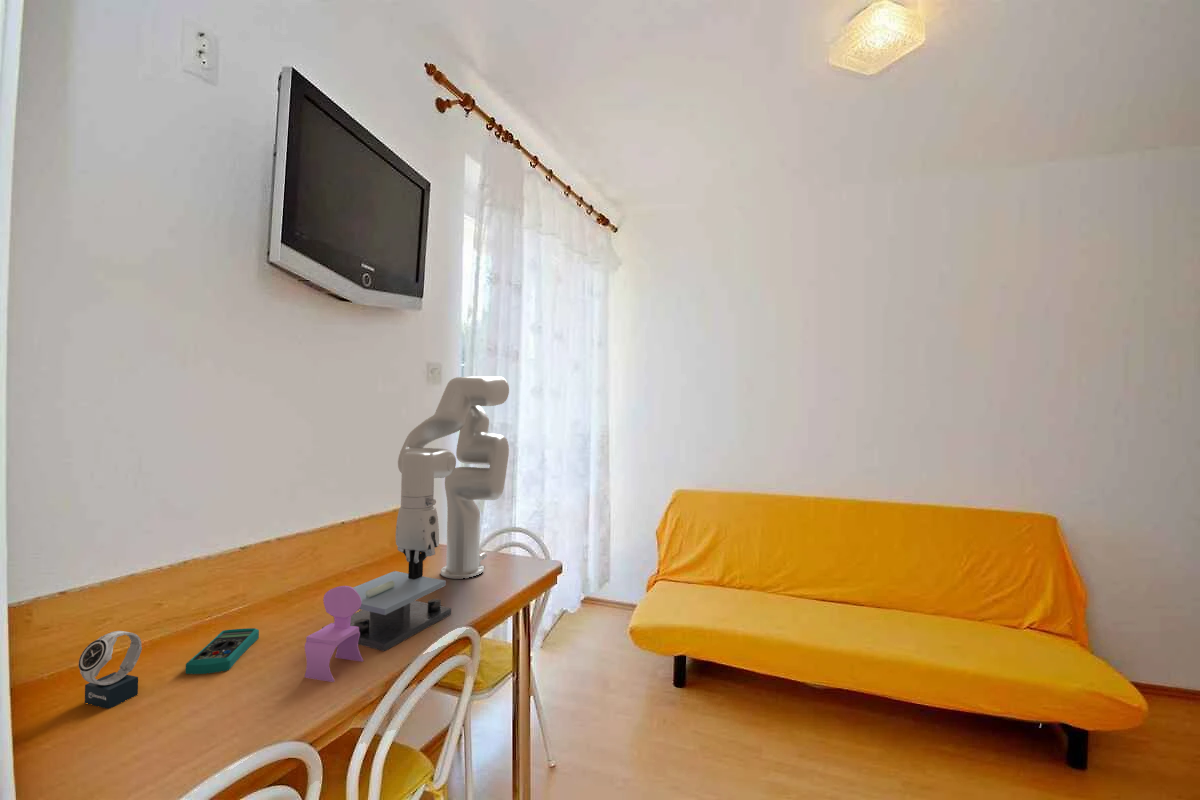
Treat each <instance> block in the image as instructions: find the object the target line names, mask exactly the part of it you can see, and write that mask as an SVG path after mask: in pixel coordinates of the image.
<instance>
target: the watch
mask: <svg viewBox="0 0 1200 800" xmlns="http://www.w3.org/2000/svg"><path fill="white" fill-rule="evenodd" d="M122 636H127V637H128V638H129V640H130V645H129V647H128V648H127V652H126V654H125V657H124V658H123V660H122V661H121V664H120V665H119V669H118V670H117V672H116V671H115V672H112V673H110V674H107V675H105V676H102V677H100V678H98V679H96V677H97V676H99V673H100V671H101V670H102V668H104V667H105V666H106V665H107V663H109V661H111V660H112V658H113V656H112V654H113V652H114V651H113V650H114V645H115V644H116V642H117V638H119V637H122ZM142 650H143V648H142V640H141V638H140V636H139V635H137V633H135V632H129V631H123V630H116V631H111V632H108V633H106V634H104V635H103V636H102V635H101V636H99V638H97V639H96V640H94V641H92V642H90V643H89V644H88V645H87V646H85V648H84V650H83V651H82V652H81V655H80V657H79V658H78V668H79V673H80V675H81V677H82V678H83V680H84V681H86V682H88V683H86V684H84V704H85V703H88V704H87V705H89V704H92V705H91V706H93V705H94V707H98V706H99V708H101V709H102V708H103V709H108V710H109V709H112V708H114V707H116V706H118V705H120V704H122V703H124V702H126V701H125V700H127V699H129V698H131V697H133V698H135V697H136V696H135V695H137V694H138V695H139V676H136V675H131V674H129V673H130V672H132V671H133V669H134V667H135V666H136V664H137V662H138V661H139V658H140V655H141V653H142ZM138 695H137V696H138ZM134 696H135V697H134ZM131 699H132V698H131ZM129 700H130V699H129ZM127 701H128V700H127ZM121 702H122V703H121ZM111 707H112V708H111Z"/></svg>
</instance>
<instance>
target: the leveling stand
mask: <svg viewBox="0 0 1200 800" xmlns="http://www.w3.org/2000/svg"><path fill="white" fill-rule="evenodd" d="M450 615H451V616H452V608H451V607H447V606H443V605H442V600H441V599H438V598H433V599H429V600H428V601H427V602H424V601H419V600H415V601H413V602H411V603H409V604H407V605H405V606H403V607H401V608H399V609H396V610H394V611H392V612H390V613H388V614H386V615H383V614H378V613H374V612H370V611H365V610H361V609H360V610H358V611H356V612H355V613H354V614H353V615H352V616H351V622H350V626H357V627H359V632H360V637H359V640H358V646H359V645H360V646H363V647H367V648H370V649H374V650H377V651H378V650H379V651H381V652H386V651H387V650H389V649H391V648H394V647H395V646H396V645H398V644H401V643H402V642H404V641H405V640H407V639H409V638H411V637H414V636H415V635H417V634H418V633H420V632H422V631H423V630H425V629H427V628H429V627H431V626H432V625H434V624H436V623H438V622H440V621H442V620H443V618H444V619H445V618H447V617H448V616H450ZM324 627H325V626H322V628H324ZM322 628H321V629H322Z"/></svg>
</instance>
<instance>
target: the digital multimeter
mask: <svg viewBox="0 0 1200 800" xmlns="http://www.w3.org/2000/svg"><path fill="white" fill-rule="evenodd" d="M259 634H260V630H259V629H258V628H255V627H254V628H253V627H251V628H249V627H248V628H235V629H225V630H222V631H221V632H220V633H219V634H217V635H216V636H215V637H214V638H213V639H212V640H211V641H210V642H209V643H208V644H207V645H206V646H204V647H203V648H202V649H201V650H200V651H198V653H196V654H195V655H194V656H193V657H192V658H191V659H190V660H189V661H187V662H186V663H185V674H186V675H206V674H207V673H208V674H216V673H221V671H223V672H228V671H230V670H231V669H232V667H233V666H234V665H235V663H237V661H239V659H240V658H241V657H242V656H243V655H244V654H245V652H247V650H248V649H249V648H250V647H251V646H253V644H255V643H256V642H257V641H258V640H259V638H260V635H259ZM240 656H241V657H240ZM229 669H230V670H229ZM227 670H228V671H227ZM215 672H216V673H215Z"/></svg>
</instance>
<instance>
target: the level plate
mask: <svg viewBox="0 0 1200 800" xmlns="http://www.w3.org/2000/svg"><path fill="white" fill-rule="evenodd" d="M446 585H447V581H446V580H444V579H439V578H434V577H428V576H424V575H422V577H419V578H417V579H409V578H408V573H407V572H402V571H401V572H400V571H397V570H394V571H391V572H389V573H386V574H384V575H381V576H379V577H376V578H374V579H370V580H369V581H366V582H364V583H361V584H359V585H356V586H353V587H352V588H354V589H355V590H356V591H357V593H358V594H359V596H360V597H361V602H362V603H361V607H360V608H359V610H360V611H361V610H365V611H370V612H374V613H378V614H383V615H386V614H388V613H390V612H392V611H394V610H396V609H399V608H401V607H403V606H405V605H407V604H409V603H411V602H413V601H418V600H419V599H421V598H423V597H424V596H428V595H429V594H431V593H434V592H435V591H437V590H439V589H441V588H444V587H445V586H446Z"/></svg>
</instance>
